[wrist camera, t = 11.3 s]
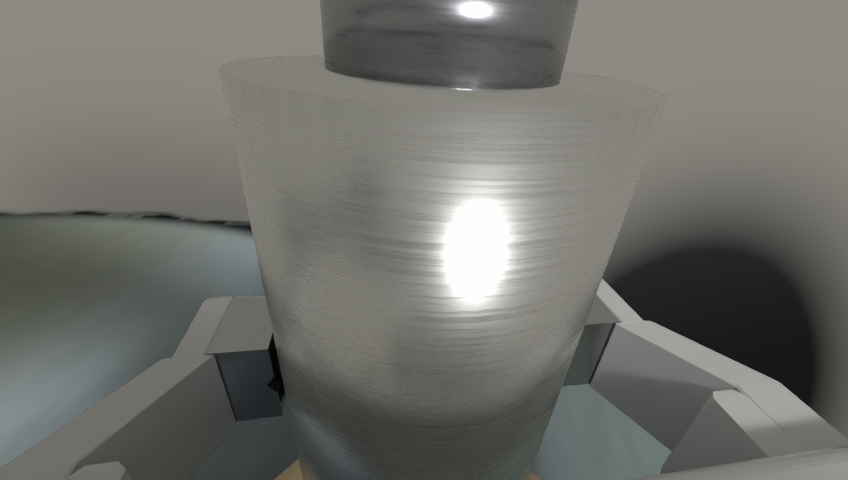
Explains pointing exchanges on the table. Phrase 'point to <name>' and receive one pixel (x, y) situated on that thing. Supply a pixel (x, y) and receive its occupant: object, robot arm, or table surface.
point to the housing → (432, 227)
